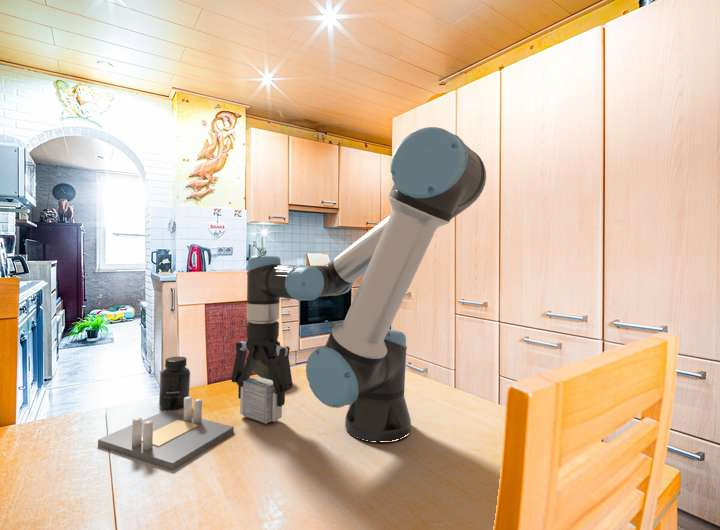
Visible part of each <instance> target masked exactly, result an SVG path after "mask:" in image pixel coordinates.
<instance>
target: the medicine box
mask: <svg viewBox="0 0 720 530" xmlns="http://www.w3.org/2000/svg"><path fill="white" fill-rule="evenodd" d="M274 392H276V390H275V387H274V384H273V381H272V380H269V379H265V378H261V377H260V376H258V375H257V376H254V377H250V378H249V379H247V380H245V381H243V415H242V417H246V418H249V419H251V420H255V421H257V422H260V423H263V424H268V423H271V422H273V421H272V409H273V393H274Z"/></svg>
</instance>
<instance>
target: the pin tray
mask: <svg viewBox="0 0 720 530" xmlns="http://www.w3.org/2000/svg"><path fill="white" fill-rule="evenodd" d="M192 401H194V402H192ZM192 404H193V408H192ZM192 409H193V415H192ZM202 411H203V398H197V399H194V400H193V397H192V396H189V397H185V398H184V407H183V413H180V412H176V411H173V410H164V411H161V412H159V413H156V414H154V415H152V416H150V417H148V418H145V419H143V418H142V417H135V418H133V419H132V420H131V421H132V423H131V425H129V426H126V427H124V428H122V429H121V428H120V429H119V430H117V431H115V432H112V433H110V434H108V435H106V436H103V437H101V438H99V439H98V440H97V446H98V447H101V448H104V449H106V450H107V449H108V450H110V451H113V452H117V453H119V454H122V455H126V456H129V457H132V458H135V459H139V460H141V461H144V462H147V463H150V464H154V465H156V466H160V467H161V468H162V467H163V468H165V469H169V470H172V471H173V470H174V469H177V468H178V467H179V466H181V465H182V464H185V462H186V463H187V461H189V460H191V459H192V458H194V457H195V456H197V455H199V454H200V453H202V452H204V451H205V450H207V449H208V448H209V449H210V447H212V446H213V445H215V444H216V443H218V442H220V441H221V440H223V439H224V438H226V437H228V436H229V435H230V436H231V434H233V433H234V430H235V429H234V426H232V425H228V424H224V423H220V422H216V421H212V420H209V419H205V418H202V416H203V414H202V413H203V412H202Z"/></svg>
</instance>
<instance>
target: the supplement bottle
mask: <svg viewBox="0 0 720 530" xmlns="http://www.w3.org/2000/svg"><path fill="white" fill-rule="evenodd" d="M186 366H187V357H185V356H169V357H167V358H166V359H165V364H164V367H165V369H163V370H162V371H161V373H160V379H159V396H158V398H159V400H158V402H159V403H158V406H159V408H161V410H164V411H165V410H168V411H177V410H179V409H184V398H185V397H190V388H191V387H190V385H191V380H190V379H191V370H190V369H189V368H188V367H186Z"/></svg>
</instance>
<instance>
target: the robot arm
mask: <svg viewBox="0 0 720 530" xmlns="http://www.w3.org/2000/svg"><path fill="white" fill-rule="evenodd" d="M390 161H391V162H390V167H389V168H390V173H391V180H392V183H393V185H392V188H391V190H390V192H389V194H388V200H389V203H390V205H391V212H390V214H389V215H388V216H386V217H385V218H384V219H383V220H382V221H380V222H379V223H378V224H376V225H375V226H374V227H373V228H372V229H370V230H369V231H368V232H366V233H365V234H364V235H362V236H361V237H360V238H359V239H357V240H356V241H355V242H354V243H352V244H350V246H348V247H347V248H346V249H345V250H343V251H342V252H340V254H338V255H337V256H336V257H334V258H333V259H331V261H329V262H327V263H326V264H324V265H307V264H306V265H303V264H300V265H297V264H296V265H295V264H294V265H293V264H292V265H291V264H290V265H289V264H288V265H287V264H284V265H283V264H282V263H281V258H280V257H279V256H275V255H272V256H271V255H270V256H269V255H252V256H250V257H249V258H248V262H247V271H246V275H247V279H246V280H247V282H246V283H247V284H246V316H245V317H246V320H247V322H246V324H245V325H246V326H245V327H246V329H245V337H246V338H247V340H241V341H238V342H236V344H235V349H236V352H235V353H236V354H235V359H234V363H233V369H232V375H231V379H230V380H231V382H232V383H236V384H237V386H238V399H239V400H240V402H239V403H240V406H239V408H240V409H239V414H240V415H242V416H243V381H245V380H247V379H250V378H251V376H252V373H253V372H254V370H253V369H254V367H255V364H256V362H257V360H261V361H264V362H265V365H266V366H267V367H268V370H269V372H270V375H271V378H272V381H273V384H274V387H275V390H276V392H274V393H273V409H272V421H271V422H277V421H278V420H279V419H281V418H282V417H283V416H282V414H283V411H282V409H283V406H284V405H285V401H286V400H285V399H286V392H288V391H290V390H291V389H293V388H294V387H293V386H294V385H293V378H292V372H291V371H292V370H291V365H290V349H291V348H290V347H289V346H288V345H287V346H282V345H280V346H279V344H278V342H279V340H278V339H279V335H280V323H279V321H278V320H279V319H280V303H281V302H280V298H282V299H290V300H295V301H299V302H302V301H315V300H316V299H317V298H319V297H330V296H333V297H337V296H340V295H343V294H346V293H349V291H351V289H352V287H353V285H354V282H355V281H358V280H359V279H361V277H362V279H361V280H360V284H359V286H358V288H357V290H356V292H355V295H354V297H353V300H352V302H351V305H350V306H349V309H348V311H347V314H346V315H345V319H344V320H343V322H339V323H336V324H334V326H333V327H332V328H331V331H330V333H329V336H328V338H327V341H326V342H325V345H323V346H320V347H317V348H316V349H315V350H313V351H312V352H311V353H310V355H309V356H308V358H307V361H306V365H305V375H306V380H307V381H308V383H309V388H310V390H311V392H312V393H313V395H314V396H315V397H316V399H318V400H319V401H320V403H322V404H323V405H325V406H327V407H330V408H335V409H336V408H337V409H338V408H339V409H340V408H343V407H345V406H348V409H347V411H346V414H345V419H344V420H345V423H344V424H345V425H344V427H346V428H345V430H346V429H347V430H346V432H347V431H348V432H349V433H350V434H352V435H353V436H355V437H358V438H360V439H364V440H368V441H376V442H380V441H392V440H396V439H400V438H402V437H404V436H405V435H407V434H408V433H409V431H410V429H411V428H412V420H411V417H410V411H409V409H408V406H407V402H406V397H405V387H406V386H405V385H406V383H405V382H406V364H407V363H406V362H407V359H406V358H407V349H408V347H407V338H406V335H405V333H404V332H402V331H400V330H397V329H390V328H391V327H392V324H393V322H394V320H395V317H396V316H397V314H398V311H399V309H400V307H401V305H402V303H403V301H404V298H405V296H406V294H407V293H408V290H409V288H410V287H411V284H412V281H413V280H414V277H415V276H416V274H417V271H418V269H419V267H420V265H421V263H422V260H423V259H424V256H425V254H426V252H427V250H428V248H429V245H430V243H431V241H432V239H433V237H434V236H435V235H434V234H435V232H436V230H437V229H438V228H440V227H443V226H445V225H448V224H450V222H451V220H452V219H454V218H455V217H456V216H459V214H461V213H462V212H463V211H466V210H467V209H468V208H469V207H470V206H472V205H473V204H474V203H475V202H476V201H477V200H478V199H479V197H480V196H481V194H482V193H483V191H484V188H485V186H486V183H487V182H486V181H487V170H486V167H485V164H484V161H483V160H482V158H481V157H480V156H479V154H477V152H475V151H474V150H472V149H471V148H470V147H469V146H468V145H467V144H466V143H465V142H464V141H463V140H462V139H461V137H460V136H458V135H456V134H454V133H452V132H450V131H448V130H446V129H444V128H442V127H441V128H440V127H437V126H429V127H428V126H427V127H423V128H420V129H418V130H415V131H414V132H412V133H409V134H408V135H406V136H405V138H404V139H402V140H401V142H400V143H399V144H398V145H397V147H396V148H395V150H394V152H393V155H392V157H391V160H390ZM276 352H278V353H277V355H278V356H279V366H278V363H277V361H278V359H277V356H276ZM247 353H248V355H247ZM270 359H272V360H271V361H270ZM279 367H280V368H279ZM348 432H347V433H348ZM410 432H411V431H410ZM349 433H348V434H349ZM350 434H349V435H350ZM352 435H351V436H352ZM353 436H352V437H353ZM355 437H354V438H355ZM360 439H359V440H360Z"/></svg>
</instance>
